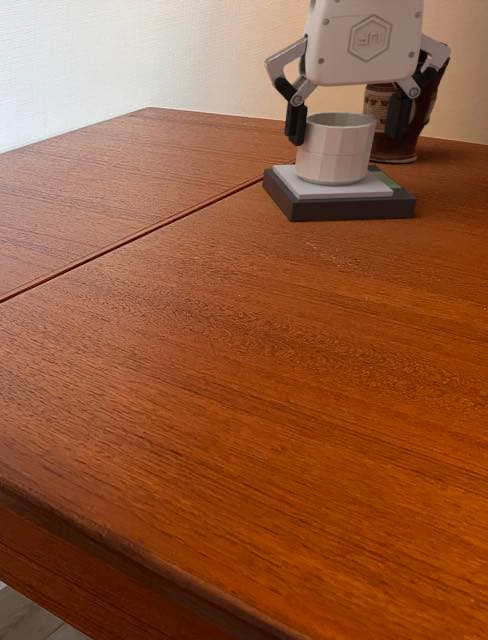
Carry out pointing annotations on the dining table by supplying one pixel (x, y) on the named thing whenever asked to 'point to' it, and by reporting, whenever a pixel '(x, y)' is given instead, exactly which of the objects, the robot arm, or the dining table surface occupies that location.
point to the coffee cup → (419, 117)
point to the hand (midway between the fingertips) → (343, 139)
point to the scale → (338, 196)
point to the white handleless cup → (335, 147)
